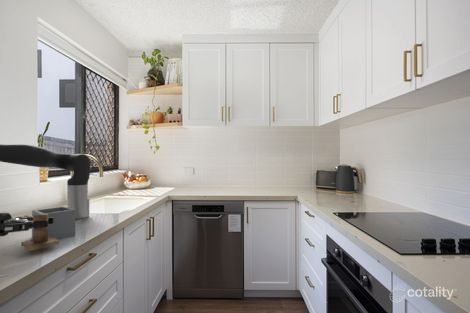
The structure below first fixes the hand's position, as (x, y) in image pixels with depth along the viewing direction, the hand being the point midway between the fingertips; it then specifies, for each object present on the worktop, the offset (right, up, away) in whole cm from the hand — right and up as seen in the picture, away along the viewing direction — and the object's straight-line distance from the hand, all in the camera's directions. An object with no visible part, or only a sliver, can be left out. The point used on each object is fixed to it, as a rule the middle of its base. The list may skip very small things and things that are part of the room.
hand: (50, 222), depth 89 cm
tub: (-9, -9, +15) cm, 20 cm away
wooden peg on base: (-3, -7, -1) cm, 8 cm away
